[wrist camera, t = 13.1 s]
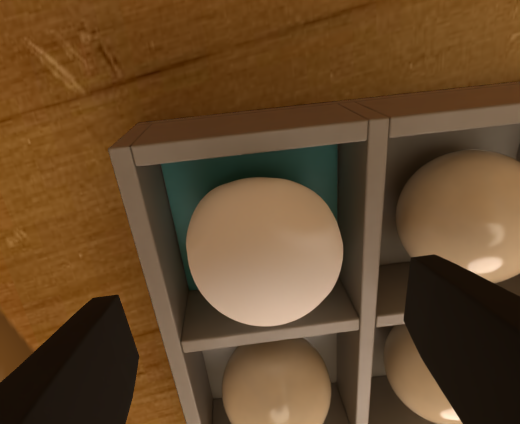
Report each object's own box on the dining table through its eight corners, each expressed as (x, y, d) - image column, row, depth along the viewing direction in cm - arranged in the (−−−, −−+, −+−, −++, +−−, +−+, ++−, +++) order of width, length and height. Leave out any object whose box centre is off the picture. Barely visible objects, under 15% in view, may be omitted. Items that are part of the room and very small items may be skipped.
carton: (222, 474, 22) (221, 545, 19) (137, 122, 12) (106, 148, 9) (451, 440, 23) (488, 505, 19) (538, 78, 13) (638, 90, 10)
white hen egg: (343, 183, 13) (402, 254, 9) (285, 280, 15) (309, 380, 11) (224, 128, 12) (221, 178, 8) (174, 241, 14) (149, 335, 9)
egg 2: (372, 247, 15) (427, 324, 11) (378, 142, 13) (449, 187, 9) (476, 234, 15) (571, 305, 11) (499, 128, 13) (623, 166, 9)
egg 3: (365, 364, 18) (406, 459, 14) (370, 294, 16) (419, 380, 12) (452, 353, 18) (518, 443, 14) (467, 281, 16) (549, 362, 12)
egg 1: (228, 383, 18) (229, 485, 14) (215, 313, 16) (211, 408, 12) (318, 371, 18) (345, 468, 14) (316, 300, 16) (347, 390, 12)
